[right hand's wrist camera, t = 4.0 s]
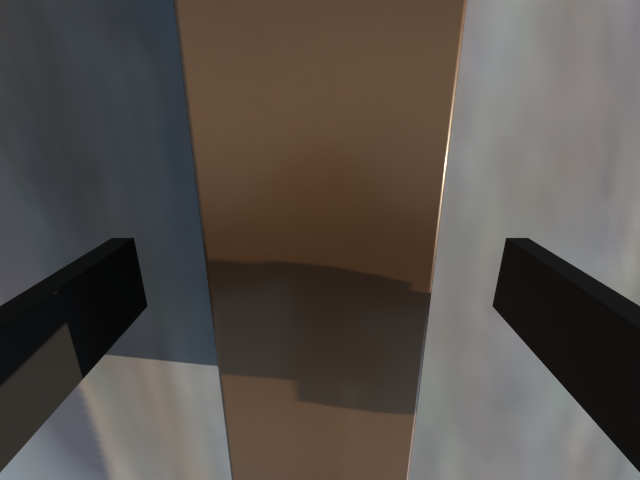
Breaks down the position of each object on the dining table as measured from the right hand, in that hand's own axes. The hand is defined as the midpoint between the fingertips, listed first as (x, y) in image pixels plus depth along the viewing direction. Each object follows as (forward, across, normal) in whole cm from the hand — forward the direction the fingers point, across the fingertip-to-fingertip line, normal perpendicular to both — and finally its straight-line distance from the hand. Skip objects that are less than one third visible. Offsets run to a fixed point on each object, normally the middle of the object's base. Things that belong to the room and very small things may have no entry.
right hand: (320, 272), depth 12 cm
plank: (+3, 0, -20) cm, 20 cm away
